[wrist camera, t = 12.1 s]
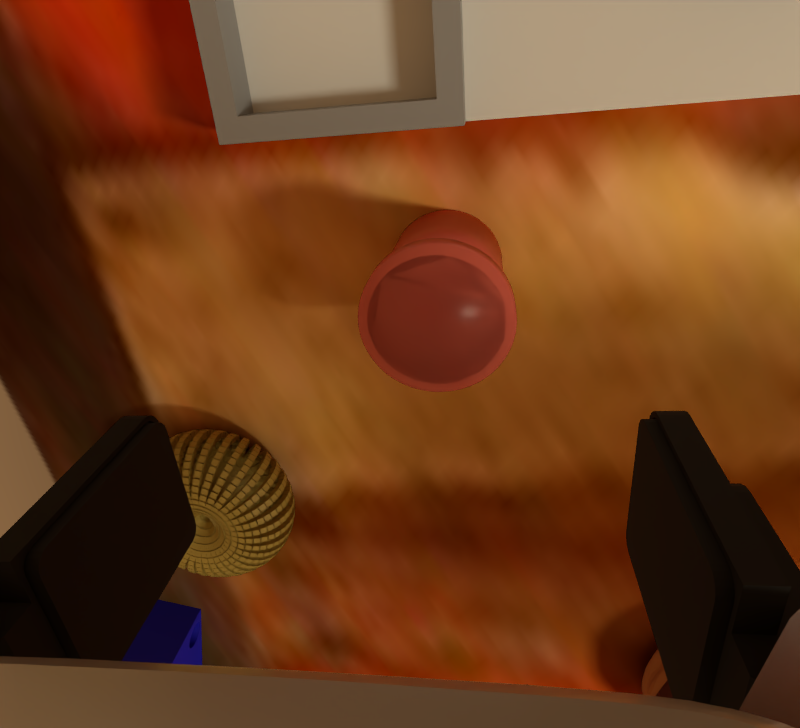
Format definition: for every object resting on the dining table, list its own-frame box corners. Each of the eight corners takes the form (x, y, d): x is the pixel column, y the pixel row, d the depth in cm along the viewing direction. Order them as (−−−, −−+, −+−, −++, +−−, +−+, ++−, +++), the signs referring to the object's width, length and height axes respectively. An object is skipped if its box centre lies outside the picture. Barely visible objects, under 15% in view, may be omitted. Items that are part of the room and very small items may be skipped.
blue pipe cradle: (224, 726, 41) (185, 823, 36) (163, 711, 41) (115, 806, 36) (225, 612, 36) (179, 708, 30) (154, 596, 36) (96, 689, 31)
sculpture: (92, 458, 26) (266, 465, 25) (140, 410, 29) (294, 415, 28) (137, 589, 29) (291, 600, 28) (174, 532, 33) (312, 540, 32)
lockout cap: (509, 198, 22) (517, 240, 17) (509, 319, 24) (516, 391, 19) (380, 205, 23) (349, 248, 18) (391, 322, 25) (366, 392, 20)
